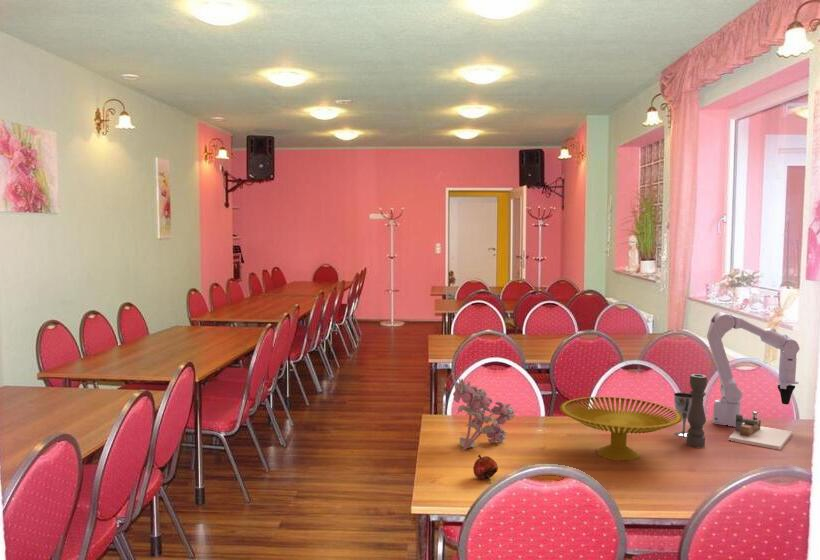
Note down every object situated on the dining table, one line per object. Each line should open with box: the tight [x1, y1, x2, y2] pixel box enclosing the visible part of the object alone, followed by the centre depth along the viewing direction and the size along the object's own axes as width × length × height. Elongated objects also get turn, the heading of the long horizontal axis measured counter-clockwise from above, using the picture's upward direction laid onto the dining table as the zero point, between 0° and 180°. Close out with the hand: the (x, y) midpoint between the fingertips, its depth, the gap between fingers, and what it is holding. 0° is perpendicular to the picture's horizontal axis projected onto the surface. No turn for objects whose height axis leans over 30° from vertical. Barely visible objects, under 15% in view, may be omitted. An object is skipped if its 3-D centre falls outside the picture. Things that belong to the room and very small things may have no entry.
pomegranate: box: [472, 454, 499, 484], centre depth 217 cm, size 7×7×10 cm
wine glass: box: [673, 391, 692, 438], centre depth 265 cm, size 8×8×15 cm
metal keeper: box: [734, 413, 760, 432], centre depth 265 cm, size 8×2×6 cm, turn 53°
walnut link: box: [740, 418, 762, 436], centre depth 266 cm, size 15×4×3 cm, turn 139°
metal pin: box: [751, 410, 760, 420], centre depth 270 cm, size 2×2×3 cm
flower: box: [452, 378, 517, 452], centre depth 249 cm, size 20×22×25 cm
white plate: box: [728, 423, 793, 451], centre depth 263 cm, size 17×23×1 cm
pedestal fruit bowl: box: [559, 396, 683, 461], centre depth 242 cm, size 40×40×15 cm
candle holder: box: [685, 373, 708, 448], centre depth 252 cm, size 6×6×25 cm
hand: (785, 403), depth 275 cm, fingers closed
